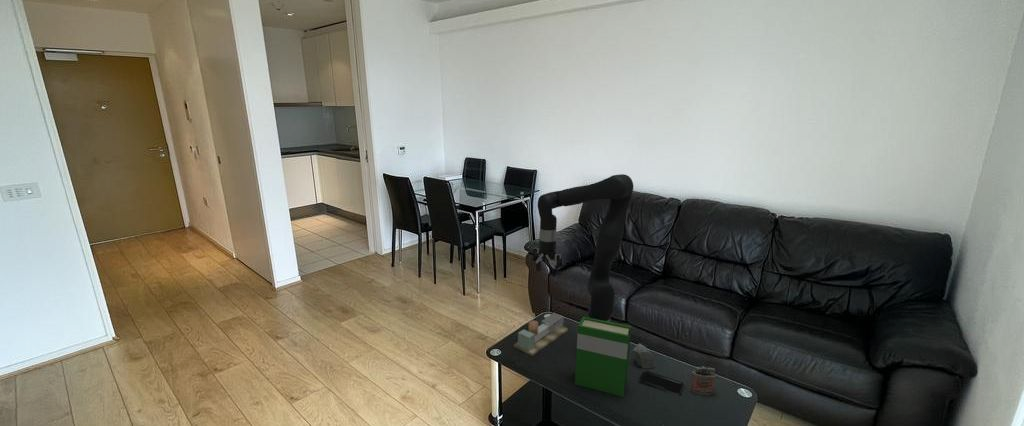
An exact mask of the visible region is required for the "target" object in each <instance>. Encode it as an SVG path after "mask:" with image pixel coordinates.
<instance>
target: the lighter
mask: <svg viewBox="0 0 1024 426" xmlns="http://www.w3.org/2000/svg"><path fill="white" fill-rule="evenodd" d="M715 371H716V369H715V368H714V367H705V365H702V366H701V367H700V366H696V367H695V370H692V371H691V375H692V376H691V383H690V387H689V392H691V393H693V394H696V395H703V396H713V395H714V393H715V392H714V390H715V383H716V378H717V375H716V372H715Z"/></svg>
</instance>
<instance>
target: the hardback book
mask: <svg viewBox="0 0 1024 426" xmlns="http://www.w3.org/2000/svg"><path fill="white" fill-rule="evenodd" d="M631 336H632V326H631V325H627V324H622V323H616V322H612V321H610V322H607V321H602V320H597V319H592V318H588V316H587V317H586V316H582V318H581V320H580V321H579V323H578V325H577V337H576V338H577V339H576V358H575V370H574V371H575V374H574V385H577V386H581V387H584V388H588V389H593V390H595V391H600V392H603V393H608V394H612V395H615V396H619V397H622V398H624V394H625V387H626V386H627V381H628V380H627V379H628V371H629V370H628V369H629V358H630V347H631Z"/></svg>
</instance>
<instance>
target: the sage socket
mask: <svg viewBox="0 0 1024 426" xmlns="http://www.w3.org/2000/svg"><path fill="white" fill-rule="evenodd" d="M517 342H518V346H519V347H521V348H523V349H525V350H527V351H531V350H532V349H533V348H534V347H535V334H533V333H531V332H529V330H526V329H522V330H520V331H519V332H517Z"/></svg>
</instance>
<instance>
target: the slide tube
mask: <svg viewBox="0 0 1024 426" xmlns="http://www.w3.org/2000/svg"><path fill="white" fill-rule="evenodd" d="M528 331H529V332H531V333H533V334H535V342H537V341H538V340H540V339H541V338H542V337H544V336H545V335H547V334H548V333H550V326H549V325H547V324H545V323H543V324H542V325H541V324H540V325H539V322H538V321H537V320H529V321H528Z"/></svg>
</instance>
